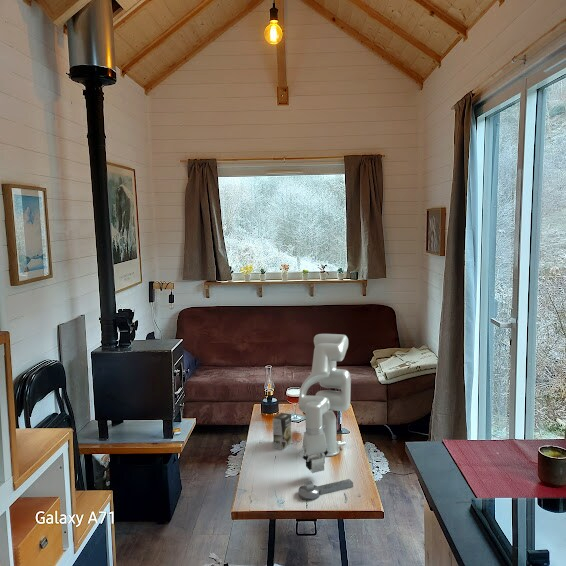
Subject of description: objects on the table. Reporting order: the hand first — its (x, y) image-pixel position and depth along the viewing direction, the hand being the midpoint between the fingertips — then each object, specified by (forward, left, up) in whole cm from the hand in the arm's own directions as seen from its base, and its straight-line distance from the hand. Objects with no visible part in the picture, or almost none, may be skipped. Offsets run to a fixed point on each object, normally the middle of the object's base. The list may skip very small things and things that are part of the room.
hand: (315, 466), depth 241 cm
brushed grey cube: (0, 0, -1) cm, 1 cm away
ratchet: (+1, +12, -6) cm, 13 cm away
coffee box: (+1, -39, -6) cm, 40 cm away
